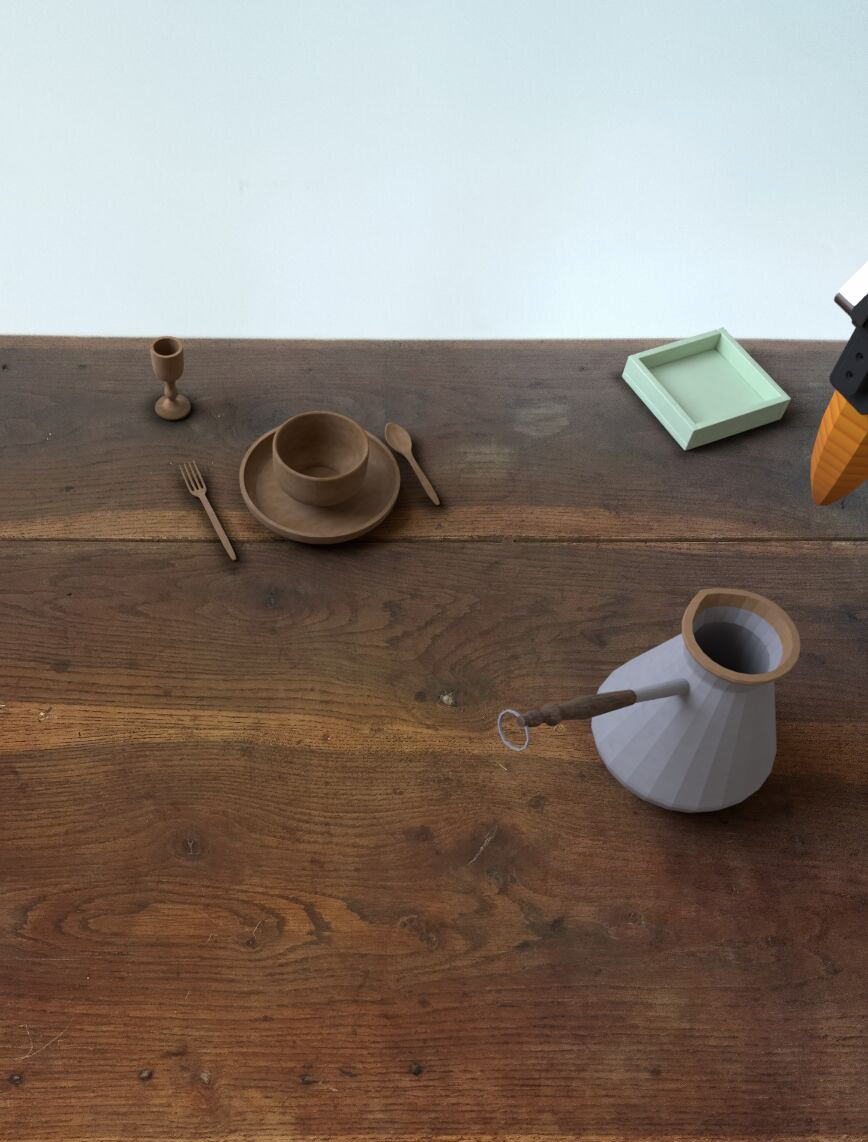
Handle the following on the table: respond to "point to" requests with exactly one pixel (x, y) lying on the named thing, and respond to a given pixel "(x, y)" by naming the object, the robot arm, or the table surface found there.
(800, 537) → the table surface
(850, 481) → the carrot
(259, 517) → the place setting
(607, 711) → the coffee pot
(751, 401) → the serving dish
